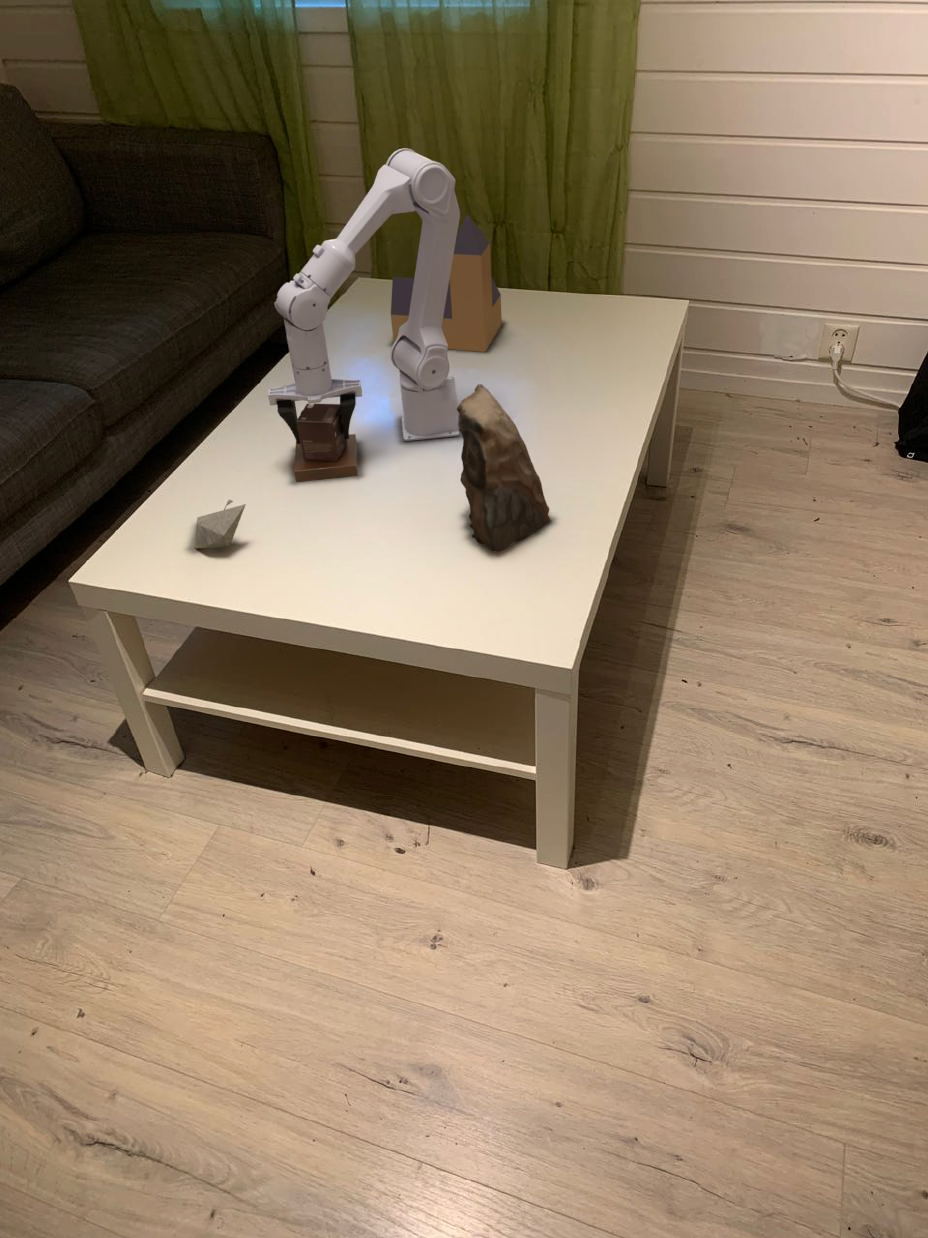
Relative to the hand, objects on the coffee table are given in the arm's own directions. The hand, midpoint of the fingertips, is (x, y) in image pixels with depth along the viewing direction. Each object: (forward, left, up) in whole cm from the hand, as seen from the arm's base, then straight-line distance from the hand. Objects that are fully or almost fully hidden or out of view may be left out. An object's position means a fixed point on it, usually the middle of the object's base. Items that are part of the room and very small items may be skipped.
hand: (323, 438), depth 163 cm
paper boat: (+15, +19, -5) cm, 25 cm away
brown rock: (-27, +23, -5) cm, 36 cm away
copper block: (0, 0, -5) cm, 5 cm away
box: (0, 0, -3) cm, 3 cm away
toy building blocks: (-24, -44, -5) cm, 50 cm away
